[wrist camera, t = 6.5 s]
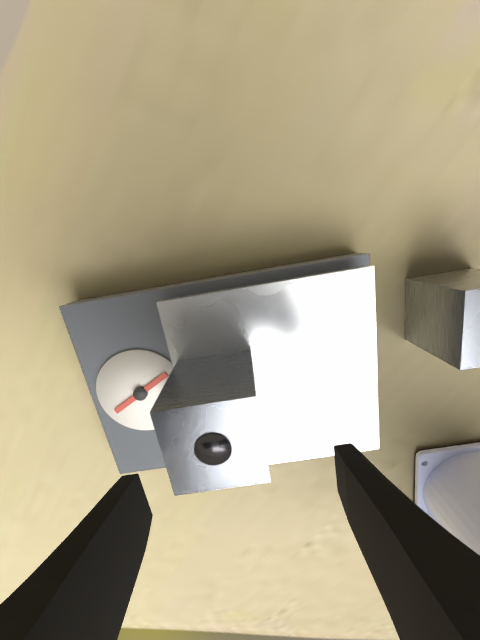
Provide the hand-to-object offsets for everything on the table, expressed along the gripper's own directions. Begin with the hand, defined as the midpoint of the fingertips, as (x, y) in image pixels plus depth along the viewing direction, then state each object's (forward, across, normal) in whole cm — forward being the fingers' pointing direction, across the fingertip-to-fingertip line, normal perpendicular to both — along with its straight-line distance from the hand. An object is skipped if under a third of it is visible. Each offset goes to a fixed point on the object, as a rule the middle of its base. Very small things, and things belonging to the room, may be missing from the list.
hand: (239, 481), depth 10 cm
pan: (+9, -2, 0) cm, 10 cm away
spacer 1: (+7, +1, 0) cm, 7 cm away
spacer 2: (+10, -14, -2) cm, 18 cm away
